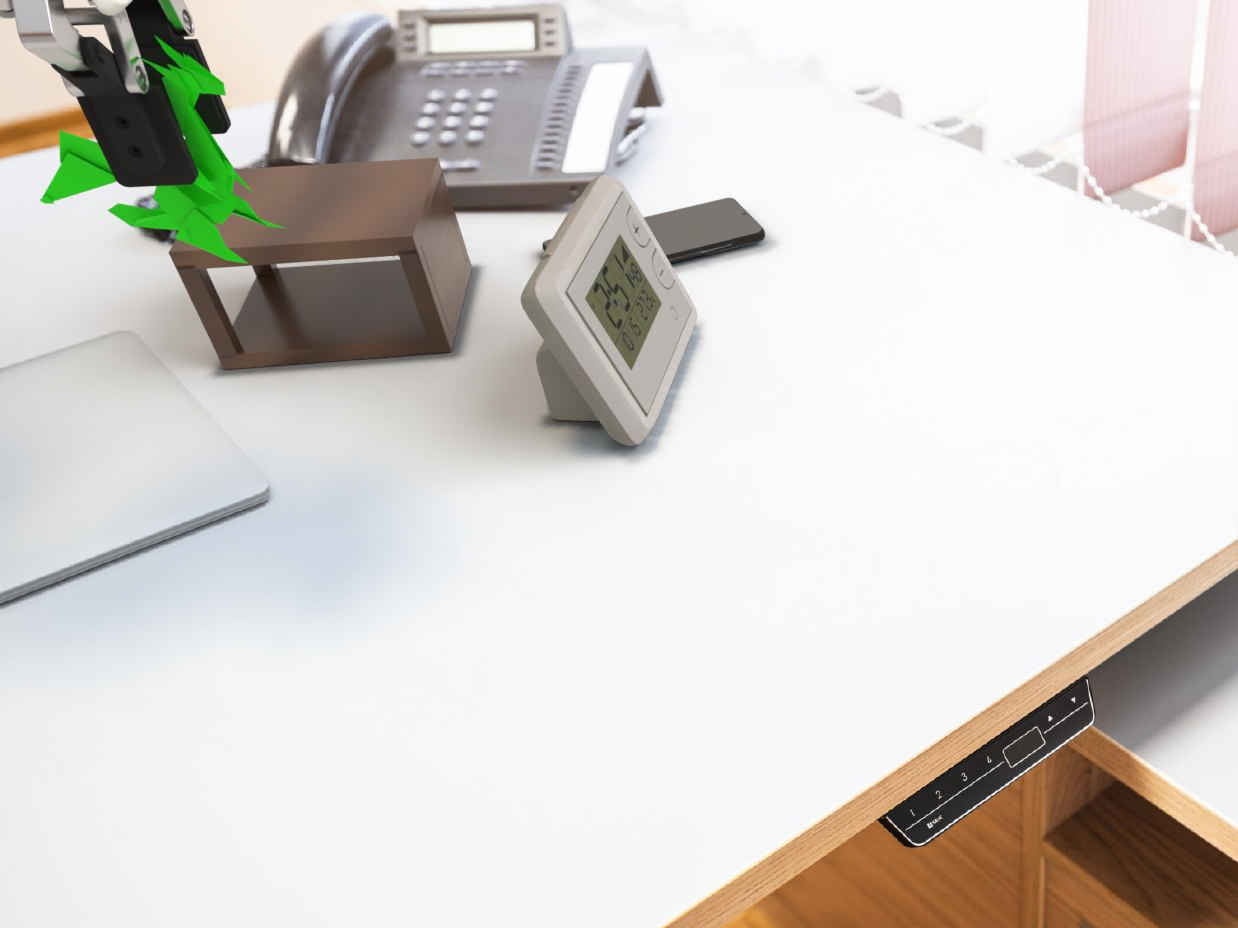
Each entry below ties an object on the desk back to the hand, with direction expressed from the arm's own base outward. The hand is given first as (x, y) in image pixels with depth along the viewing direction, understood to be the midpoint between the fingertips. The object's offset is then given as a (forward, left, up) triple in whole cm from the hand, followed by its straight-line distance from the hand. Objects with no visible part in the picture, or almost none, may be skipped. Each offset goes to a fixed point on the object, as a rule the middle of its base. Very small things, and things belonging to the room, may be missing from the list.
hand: (176, 152), depth 60 cm
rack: (-3, +24, -21) cm, 32 cm away
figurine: (0, 0, -4) cm, 4 cm away
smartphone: (+17, +31, -21) cm, 41 cm away
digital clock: (+16, +12, -21) cm, 29 cm away
